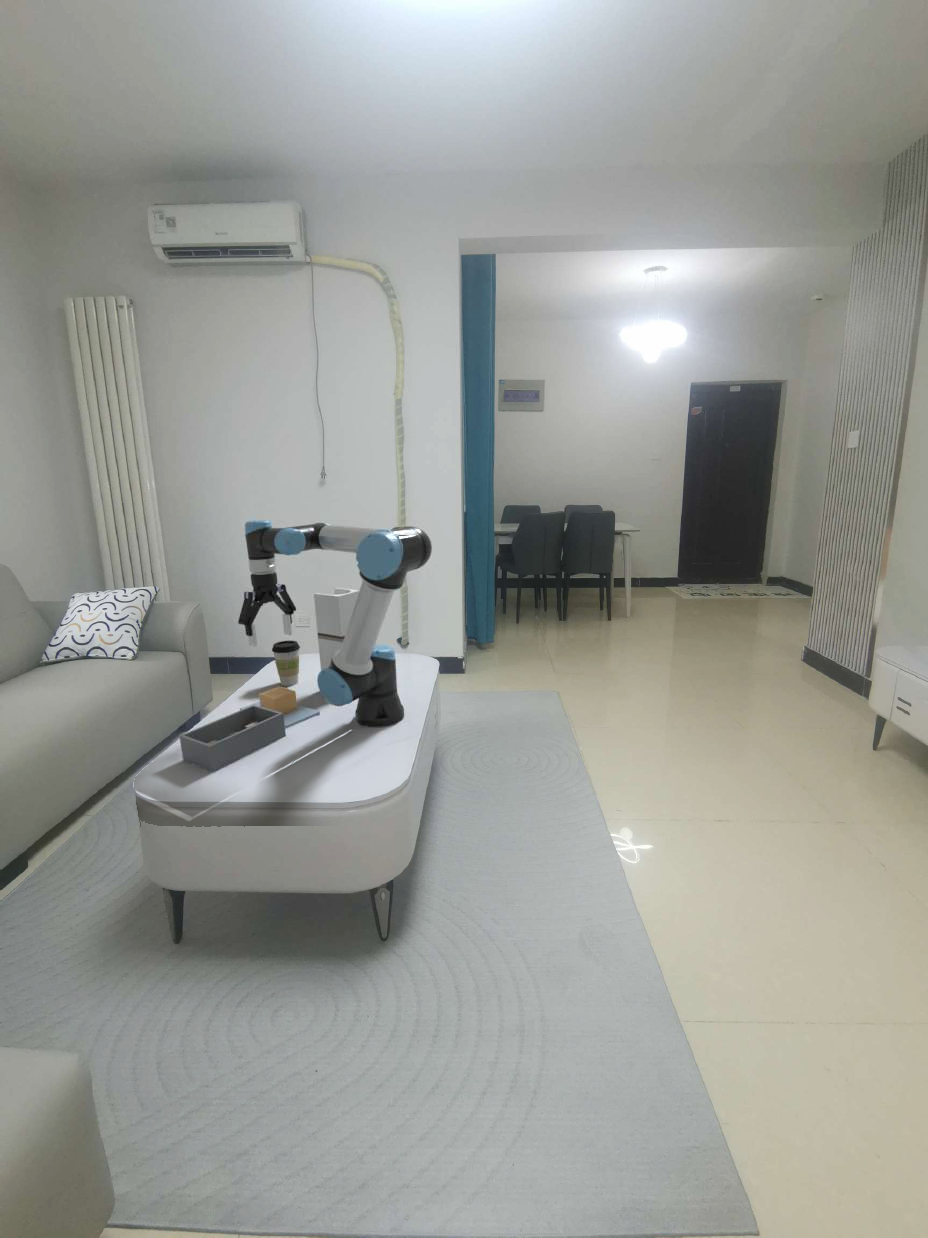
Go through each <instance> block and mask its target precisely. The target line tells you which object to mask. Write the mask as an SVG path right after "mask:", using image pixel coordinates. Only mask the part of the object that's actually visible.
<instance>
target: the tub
mask: <svg viewBox="0 0 928 1238" xmlns="http://www.w3.org/2000/svg"><path fill="white" fill-rule="evenodd" d="M256 721H257V722H260V723H257V724H255V725H253V726H251V727H249V728H246V729H245V726H247V725H249V724H252V723H254V722H256ZM233 732H237V733H235V734H233V735H231V736H229V737H228V735H229V734H230V733H233ZM178 737H179V744H180V748H181V754H182V755H181V756H182V758H183V759H182V760H183V761H184V762H186V763H189V764H191V765H194V766H196V767H199V768H201V769H204V770H205V771H206V770H207V771H209V772H211V773H215V772H217V771H219V770H221V769H223V768H225V767H227V766H229V765H231V764H233V763H235V762H237V761H239V760H241V759H243V758H246V757H247V756H249V755H251V754H253V753H255V752H257V751H259V750H261V749H264V748H266V747H267V746H269V745H271V744H274V743H275V742H278V741H279V740H282V739H283V738H285V737H287V734H286V729H285V724H284V715H283V713H281V712H277V711H274V710H270V709H267V708H263V707H260V706H256V705H252V706H249V707H247V708H245V709H242V710H240V709H239V710H237V711H236V712H233V713H231V714H228V715H226V716H224V717H221V718H218V719H216V720H214V721H212V722H209V723H207V724H204V725H201V726H199V727H197V728H195V729H192V730H190V731H188V732H185V733H183V734H180V735H179V736H178ZM214 740H216V741H218V742H215V743H213V744H211V745H210V744H207V743H209V742H212V741H214Z"/></svg>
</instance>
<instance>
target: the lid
mask: <svg viewBox="0 0 928 1238" xmlns="http://www.w3.org/2000/svg"><path fill="white" fill-rule="evenodd" d="M258 699H259V701H257V702H254V703H252V704H249V705H245V706H243V707H241V708H239V711H240V710H242V709H245V708H247V707H249V706H252V705H256V706H260V707H263V708H267V709H270V710H274V711H277V712H281V713H283V715H284V724H285V730H287V729H289V728H290V727H293V726H295V725H297V724H300V723H302V722H304V721H307V720H309V719H312V718H314V717H316V716H317V717H318V716H320V714H321V712H320V711H319V710H317V709H314V708H309V707H307V706H305V705H301V704H298V703H297V693H296V690H293V689H290V688H287V687H284V686H278V687H275V688H272V689H270V690H269V689H268V690H265V691H263V692H260V693H258Z"/></svg>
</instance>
